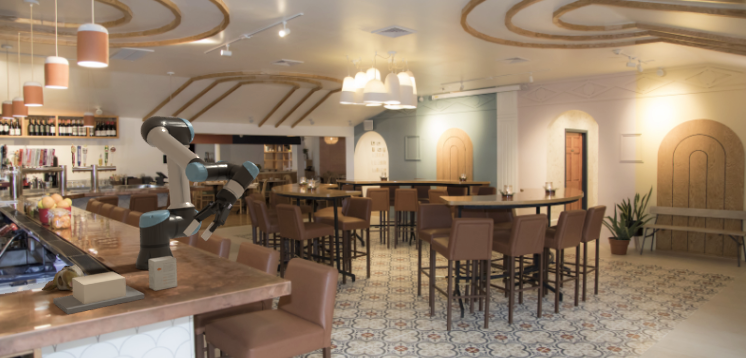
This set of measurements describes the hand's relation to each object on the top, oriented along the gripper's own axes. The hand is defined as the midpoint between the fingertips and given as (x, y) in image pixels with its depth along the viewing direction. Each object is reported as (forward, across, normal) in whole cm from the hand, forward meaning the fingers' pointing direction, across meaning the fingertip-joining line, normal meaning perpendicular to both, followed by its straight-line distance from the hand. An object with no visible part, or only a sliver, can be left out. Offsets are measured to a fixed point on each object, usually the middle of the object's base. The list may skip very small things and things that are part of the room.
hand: (194, 236), depth 177 cm
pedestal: (+35, 0, +11) cm, 37 cm away
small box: (+20, +1, -4) cm, 21 cm away
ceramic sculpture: (+37, +24, +13) cm, 46 cm away
